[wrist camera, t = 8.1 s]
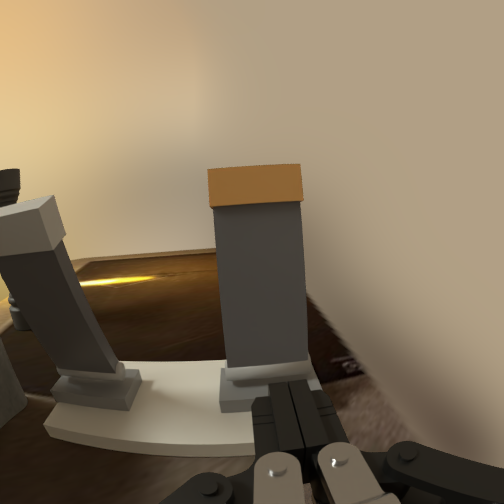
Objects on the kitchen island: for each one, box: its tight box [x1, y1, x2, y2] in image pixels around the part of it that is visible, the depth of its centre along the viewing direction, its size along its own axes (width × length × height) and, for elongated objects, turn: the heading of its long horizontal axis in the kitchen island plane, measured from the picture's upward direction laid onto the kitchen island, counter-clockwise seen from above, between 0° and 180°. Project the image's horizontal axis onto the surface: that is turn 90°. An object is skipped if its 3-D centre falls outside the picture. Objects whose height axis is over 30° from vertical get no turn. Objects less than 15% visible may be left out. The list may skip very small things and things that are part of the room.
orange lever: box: [208, 164, 311, 381], centre depth 21 cm, size 2×6×16 cm, turn 93°
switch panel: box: [43, 360, 323, 457], centre depth 22 cm, size 11×23×3 cm, turn 93°
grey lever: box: [0, 195, 126, 381], centre depth 17 cm, size 2×6×16 cm, turn 94°
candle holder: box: [0, 169, 31, 331], centre depth 35 cm, size 6×6×25 cm
